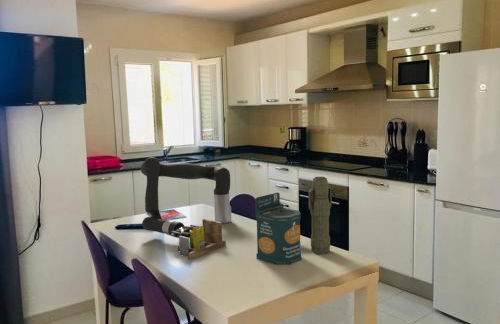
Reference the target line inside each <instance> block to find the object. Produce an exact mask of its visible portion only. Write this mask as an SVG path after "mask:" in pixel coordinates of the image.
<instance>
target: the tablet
mask: <svg viewBox="0 0 500 324" xmlns="http://www.w3.org/2000/svg"><path fill="white" fill-rule="evenodd" d="M159 212H160V215H161V218H162V219H164V220H169V221H175V220H179V219H185V218H187V216H186V215H184V214H183V213H181V212H179V211H177V210H176V209H167V210H166V209H165V210H159ZM146 215H148V217H151V215H150V214H149V213H147V212H146Z"/></svg>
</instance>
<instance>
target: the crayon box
mask: <svg viewBox="0 0 500 324" xmlns="http://www.w3.org/2000/svg"><path fill="white" fill-rule="evenodd" d="M197 228H199V229H197ZM189 233H190V238H189V247H190V248H194V249H200V248H203V247H205V244H204V228H203V225H200V226H199V227H196V228H194V229H193V231H191V230H190V232H189Z"/></svg>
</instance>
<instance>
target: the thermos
mask: <svg viewBox="0 0 500 324" xmlns="http://www.w3.org/2000/svg"><path fill="white" fill-rule="evenodd" d="M332 192H333V191H332V187H331V186H330V185H329V181H328V178H327V177H326V176H314V177H313V178H312V181H311V188H309V189H308V191H307V193H308V194H307V195H308V202H307V203H308V208H307V209H308V211H310V215H311V236H310V247H311V248H310V252H311V253H313V254H316V255H326V254H327V255H328V254H330V252H331V251H330V250H331V249H330V247H331V236H330V215H331V208H332V203H333V202H332V197H333V196H332Z"/></svg>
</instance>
